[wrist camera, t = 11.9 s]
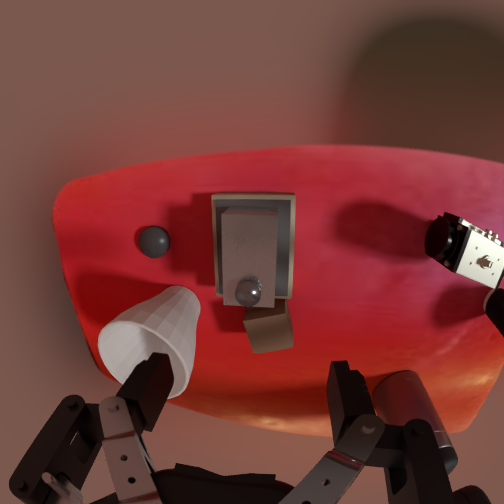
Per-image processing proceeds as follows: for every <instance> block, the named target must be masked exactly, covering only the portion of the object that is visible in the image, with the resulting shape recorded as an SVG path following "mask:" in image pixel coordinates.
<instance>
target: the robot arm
mask: <svg viewBox="0 0 504 504" xmlns="http://www.w3.org/2000/svg"><path fill="white" fill-rule="evenodd" d="M173 385H174V374H173V370H172V366H171V362H170V358H169V355H168V354H166V353H158V352H153V353H152V354H151V356H150V357H149V359H148V360H143V361H141V362H140V363H139V364H137V365H136V366H135V368H134V369H133V371H132V373H131V374H130V375H129V377H128V378H127V379H126V381H125V382H124V384H123V385H122V387H121V388H120V390H119V391H118V393H117V394H116V396H112V397H107V398H105V399H104V400H102V401H101V403H100V404H90V403H85V401H84V399H83V398H82V397H81V396H79V395H70V396H67V397H65V398H64V399H63V400H62V401H61V403H60V404H59V405H58V407H57V408H56V410H55V411H54V413H53V414H52V415H51V417H50V418H49V420H48V421H47V422H46V424H45V425H44V427H43V428H42V430H41V431H40V432H39V434H38V435H37V437H36V438H35V440H34V442H33V443H32V444H31V446H30V447H29V449H28V450H27V452H26V454H25V455H24V457H23V458H22V460H21V461H20V463H19V465H18V466H17V468H16V470H15V471H14V473H13V475H12V476H11V478H10V480H9V488H10V490H11V492H12V493H13V494H14V495H15V496H16V497H17V498H18V499H20V500H21V501H22V502H24V504H83V496H82V493H81V492H80V490H81V488H82V486H83V484H84V481H85V479H86V477H87V475H88V473H89V471H90V469H91V467H92V465H93V463H94V460H95V458H96V456H97V454H98V452H99V450H100V448H101V446H102V444H103V448H104V452H105V456H106V460H107V463H108V467H109V471H110V474H111V478H112V481H113V484H114V487H115V490H116V492H115V493H112V494H110V495H108V496H106V497H104V498H101V499H99V500H97V501H94V502H92V503H90V504H337V503H338V502H339V501H340V499H341V498H342V497H343V495H344V494H345V493H346V491H347V490H348V489H349V487H350V486H351V484H352V483H353V482H354V480H355V478H357V476H358V475H359V473H360V472H361V470H362V469H363V467H364V466H374V467H384V472H385V479H386V486H387V494H388V502H389V504H491V502H490V500H489V499H488V497H487V496H486V494H485V493H484V492H483V490H481V489H480V488H479V487H477V486H474V485H470V486H466V487H463V488H461V489H459V490H456V491H454V492H452V489H451V485H450V482H449V478H448V474H450V473H451V471H453V469H454V468H455V467H456V465H457V462H458V457H457V454H456V452H455V450H454V447H453V445H452V443H451V440H450V438H449V436H448V434H447V432H446V430H445V427H444V425H443V423H442V421H441V419H440V417H439V415H438V413H437V411H436V409H435V407H434V405H433V403H432V401H431V399H430V397H429V395H428V393H427V391H426V389H425V387H424V385H423V383H422V381H421V379H420V378H419V376H418V374H417V373H415V372H413V371H402V372H398V373H395V374H393V375H391V376H389V377H388V378H386V379H385V380H384V381H382V382H381V383H380V384H379V385H378V386H377V388H376V389H375V391H374V394H373V400H374V404H375V409H376V412H377V416H376V414H375V410H374V407H373V404H372V401H371V398H370V395H369V392H368V388H367V386H366V382H365V379H364V376H363V375H362V374H361V373H360V372H359V371H358V370H350V368H349V365H348V362H347V360H345V361H332V362H331V365H330V371H329V376H328V381H327V399H328V406H329V412H330V419H331V426H332V433H333V441H334V448H333V449H332V451H328V452H327V453H326V454H325V455H324V456H323V457H322V459H321V460H320V461H319V462H318V463H317V464H316V465H315V466H314V468H313V469H312V470H311V471H310V472H309V473H308V474H307V475H306V476H305V477H304V478H303V480H302V481H301V482H300V483H299V484H298V485H297V486H296V487H293V486H292V485H289V484H287V483H285V482H281V481H277V480H275V477H276V475H275V474H254V473H249V474H240V475H231V476H221V475H218V474H216V473H213V472H210V471H208V470H205V469H202V468H200V467H194V466H189V465H184V464H179V463H176V465H175V468H174V469H165V470H160V471H157V470H156V468H155V466H154V465H153V462H152V460H151V457H150V455H149V453H148V450H147V448H146V445H145V442H144V440H143V437H142V435H141V434H142V432H143V430H146V431H149V432H152V430H153V428H154V426H155V423H156V421H157V419H158V417H159V415H160V413H161V411H162V409H163V407H164V404H165V402H166V400H167V398H168V396H169V394H170V392H171V390H172V388H173ZM76 432H77V434H76ZM75 434H76V436H75ZM74 436H75V438H74V440H73V441H72V439H73V437H74ZM71 441H72V443H71ZM70 443H71V445H70Z"/></svg>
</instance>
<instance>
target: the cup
mask: <svg viewBox="0 0 504 504" xmlns="http://www.w3.org/2000/svg"><path fill="white" fill-rule="evenodd" d="M199 314H200V303H199V300H198V298H197V297H196V295H195V294H194V293H193V292H192V291H190V290H189V289H187V288H185V287H183V286H170V287H168V288H166V289H165V290H164V291H163V292H161V293H160V294H159V295H157V296H155V297H153V298H151V299H149V300H146V301H144V302H141V303H139V304H137V305H135V306H133V307H131V308H129V309H128V310H126V311H124V312H122V313H121V314H119V315H118V316H117V317H116V318H115V319H113V320H112V321H111V322H110V323H108V324H107V325H106V326H105V327H104V328H102V330H101V332H100V334H99V338H98V348H99V353H100V356H101V358H102V361H103V363H104V365H105V366H106V368H107V369H108V370H109V372H110V373H111V374H112V375H113V376H114V377H115V378H116V379H117V380H118V381H119V382H120V383H121V384H124V382H125V381H126V379H127V378H128V377H129V375H130V374H131V373H132V371H133V369H134V368H135V366H136V365H137V364H139V363H140V362H141V361H143V360H148V359H149V357H150V356H151V354H152V353H153V352H158V353H166V354H168V355H169V358H170V362H171V366H172V370H173V374H174V385H173V388H172V390H171V392H170V394H169V396H168V398H167V399H171V398H173V397H176V396H178V395H180V394H181V393H182V392H183V391H184V390H185V389H186V387H187V384H188V382H189V378H190V375H191V372H192V368H193V362H194V355H195V345H196V325H197V320H198V317H199Z"/></svg>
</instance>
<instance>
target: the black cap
mask: <svg viewBox="0 0 504 504" xmlns="http://www.w3.org/2000/svg"><path fill="white" fill-rule="evenodd" d="M139 245H140V248H141V250H142V252H143V253H144V254H145V255H146V256H148V257H150V258H158V257H161V256H162V255H163V254H164V253H166V252H167V251H168V249H169V247H170V237H169V234H168V233H167V231H166V230H165V229H164V228H162V227H160V226H151V227H149V228H147V229H145V230H144V231H143V232H142V233H141V235H140V237H139Z"/></svg>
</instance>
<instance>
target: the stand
mask: <svg viewBox="0 0 504 504" xmlns="http://www.w3.org/2000/svg"><path fill="white" fill-rule="evenodd" d="M230 207H272V208H278V230H277V257H276V280H275V298H282V299H292V282H293V261H294V235H295V194H294V193H274V192H224V193H215V194H213V195H212V224H213V248H214V267H215V285H216V296H223V272H222V223H221V214H222V213H224V212H225V211H226V210H227V209H228V208H230Z"/></svg>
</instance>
